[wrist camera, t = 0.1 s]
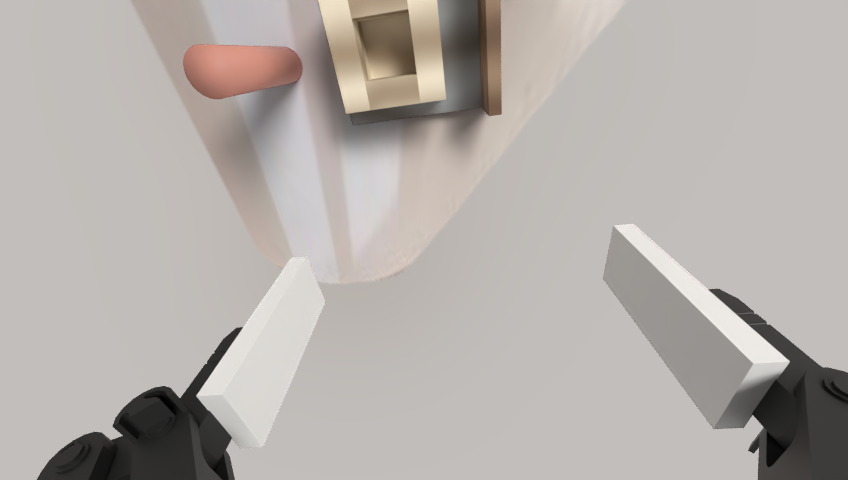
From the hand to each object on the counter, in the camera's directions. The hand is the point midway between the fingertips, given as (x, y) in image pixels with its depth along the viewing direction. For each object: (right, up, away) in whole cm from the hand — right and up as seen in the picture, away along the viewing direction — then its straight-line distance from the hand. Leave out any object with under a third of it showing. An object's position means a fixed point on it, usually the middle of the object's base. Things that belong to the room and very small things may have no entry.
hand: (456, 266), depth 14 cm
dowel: (-17, +20, +21) cm, 34 cm away
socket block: (-5, +21, +19) cm, 29 cm away
